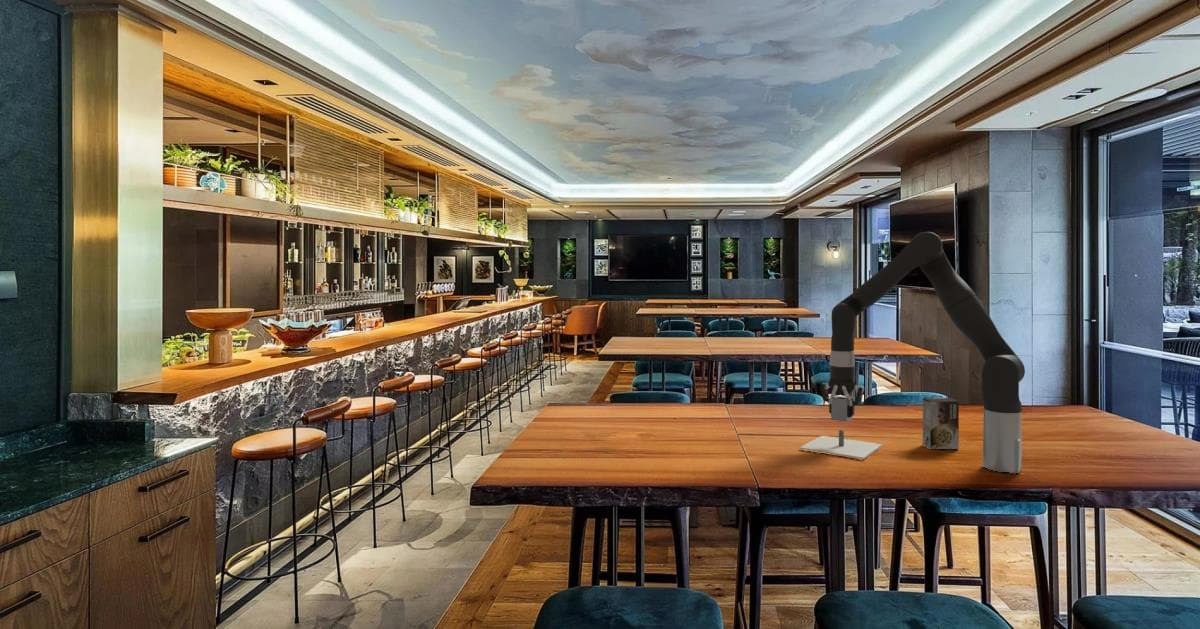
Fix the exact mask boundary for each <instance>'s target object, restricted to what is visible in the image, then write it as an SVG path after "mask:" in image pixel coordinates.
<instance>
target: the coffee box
mask: <svg viewBox="0 0 1200 629" xmlns="http://www.w3.org/2000/svg"><path fill="white" fill-rule="evenodd" d="M959 407H960V402H959V400H957V399H955V398H953V397H922V446H923V445H925V446H926V447H928V448H930V449H959V448H960V447H959V445H960V444H959V443H960V442H959V440H960V439H959V436H960V435H959V433H960V432H959V430H960V429H959V428H960V424H959V422H960V421H959V420H960V419H959V414H960V413H959V412H960V408H959ZM925 446H924V447H925ZM926 447H925V448H926ZM928 448H927V449H928ZM930 449H929V450H930Z"/></svg>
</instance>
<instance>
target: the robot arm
mask: <svg viewBox="0 0 1200 629" xmlns="http://www.w3.org/2000/svg"><path fill="white" fill-rule="evenodd" d="M918 267H919V268H920V269H921V271H922V273H923V274H924V275H925V276H926V278H928V280H929V282H930V283H931V285H932V287H933V289H934V291H935V293H936V296H937V297H938V299H939V301H940V303H941V305H942V306H943V309H944V310H945V313H946V314H947V315H948V317H949V318H950V320H951V322H952V323H953V324H954V325H955V327H956V328H957V329H958V330H959V331H960V332H961V333H962V334H963V335H964V336H965V337H967V339H969V341H971V342H972V343H973V345H974V346H975V347H976V348H977V350H978V351H979V353H980V354H981V356H982V358H983V360H984V363H983V366H982V367H981V368H982V369H981V398H982V402H983V420H982V421H983V423H982V424H983V426H982V428H983V430H982V432H983V435H982V467H985V468H987V469H986V470H988V469H989V470H988V471H991V470H993V471H992V472H995V471H998V472H997V473H1001V472H1009V473H1008V474H1016V473H1019V472H1021V471H1022V456H1023V455H1022V454H1023V453H1022V452H1023V451H1022V450H1023V449H1022V448H1023V444H1022V443H1023V437H1022V407H1023V405H1022V402H1021V400H1020V396H1019V395H1020V382H1021V381H1022V380H1023V379H1024V377H1025V374H1026V369H1025V365H1024V363H1023V361H1022V360H1021V359H1020V358H1019V356H1018V355H1017V354H1016V353H1015V351H1013V349H1012V347H1010V345H1009V344H1008V343H1007V342H1006V340H1005V339H1004V338H1003V336H1002V335H1001V334H1000V332H999V330H998V328H997V327H996V324H995V323H994V321H993V320H992V318H991V317H990V315H989V313H988V312H987V310H986V309H985V307H984V305H983V303H982V302H981V301H980V299H979V298H978V296H977V295H976V293H975V292H974V290H973V289H972V288H971V287H970V286H969V284H968V283H967V282H966V281H965V280H964V279H963V278H962V277H961V276H960V275H959V274H958V273H957V272H956V270H955V269H954V268H953V266H952V265H951V263H950V261H949V259H948V258H947V255H946V254H945V251H944V248H943V242H942V239H941V237H940V236H939V235H938V234H936V233H935V232H931V231H923V232H919V233H918V234H916V235H915V236H913V238H912V239H911V240H910V241H909V242H908V243H907V244H906V246H905V247H904V248H903V249H902V250H900V252H899V253H898V254H897V255H895V257H894V258H893V259H892V260H890V261H889V263H887V264H886V265H885V266H884V267H883V268H881V269H880V270H878V271H877V272H875V274H874V275H872V276H871V277H870V278H869V279H867V280H866V281H865V282H863V284H861V285H860V286H859V287H858V288H856V289H855V290H854V291H853V292H852V293H851V294H850V295H848V296H847V297H845V298H844V299H842V300H841V301H840V302H839V303H837V304H836V305H835V306H833V308H832V309H831V339H830V340H831V342H830V355H829V356H830V357H829V381H828V382H821V383H820V384H819V385H820V386H819V387H820V391H821V396H822V401H823V402H827V403H828V406H829V407H828V413H829V414H831V399H832V398H836V397H837V396H841V397H846V399H847V400H848V404H849V406H848V417H849V418H851V417H852V418H853V416H854V415H855V406H857V405H860V404H861V403H862V399H863V395H864V391H865V387H864V386H863V385H862V386H860V385H856V382H855V373H856V372H855V369H856V368H855V366H856V365H855V362H856V359H855V358H856V357H855V337H854V336H855V335H854V333H855V332H854V331H855V320H856V319H855V318H856V317H858V316H859V315H860V314H862V312H863V311H865V310H866V309H869V308H870V307H872V306H873V305H875V304H876V303H877V302H878V301H879V300H881V299H882V298H884V297H885V296H886V295H887V294H888V293H889V292H891V290H892V289H893V288H894V287H896V285H897V284H898V283H899V282H900V281H901V280H902V279H903V278H904V277H906V275H908V274H909V273H910V272H912V271H913V270H914V269H916V268H918ZM829 388H830V389H831V393H830V396H829V391H828V390H829ZM854 390H855V393H856V396H855V399H854V395H853V393H852V392H853V391H854ZM985 468H984V469H985ZM1020 470H1021V471H1020ZM1019 474H1020V473H1019Z"/></svg>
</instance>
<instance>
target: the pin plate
mask: <svg viewBox="0 0 1200 629" xmlns="http://www.w3.org/2000/svg"><path fill="white" fill-rule="evenodd" d="M880 447H882V448H883V444H882V443H876V442H869V441H868V442H867V441H860V440H855V439H848V438H847V439H846V438H845V430H843V429H840V430H839V431H838V437H834V436H827V435H821V436H819V437H816V438H814V439H813V440H811V441H809V442H807V443H805V444H803V445H802V446H800V447H799V449H800V448H801V449H807V450H812V451H818V452H825V453H831V454H836V455H842V456H848V457H854V458H859V459H865V458H866V457H867V456H869V455H870V454H872V453H873V452H875V451H876V450H878V449H879V448H880ZM879 450H880V449H879ZM879 450H878V451H879ZM876 452H877V451H876ZM876 452H875V453H876ZM872 455H873V454H872ZM869 457H870V456H869ZM865 460H866V459H865Z"/></svg>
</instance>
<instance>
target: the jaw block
mask: <svg viewBox="0 0 1200 629" xmlns="http://www.w3.org/2000/svg"><path fill="white" fill-rule="evenodd" d="M848 406H849V404H848V400H847V399H846V397H845V396H840V395H838V396H837V397H836V398H832V399H831V413H830V418H831V421H837V422H838V421H839V422H846V423H847V422H850V421H851V420H853V416H852V417H851V418H849V417H848Z"/></svg>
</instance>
